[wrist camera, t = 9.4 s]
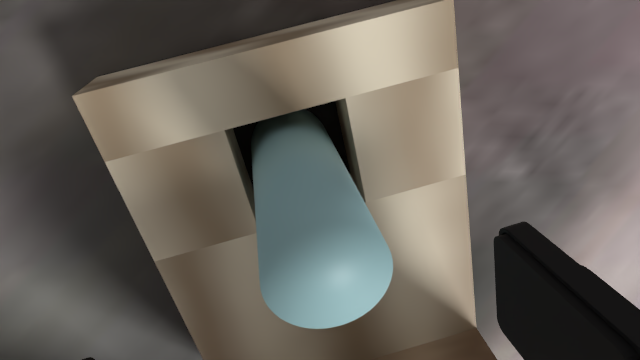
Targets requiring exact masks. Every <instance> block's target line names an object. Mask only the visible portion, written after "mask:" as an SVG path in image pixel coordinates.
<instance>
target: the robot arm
mask: <svg viewBox="0 0 640 360" xmlns="http://www.w3.org/2000/svg"><path fill="white" fill-rule="evenodd" d="M494 259H495V282H496V304H497V320H498V323H499V326H500V328H501V330H502V332H503V333H504V334H505V336H506V337H507V338H508V340H509V341H510V342H511V343H512V345H513V346H514V347H515V348H516V350H517V351H518V352H519V354H520V355H521V356H522V357H523V359H524V360H640V310H639V309H638V308H637V307H636V306H634V305H633V304H632V303H631V302H629V301H628V300H627V299H626V298H624V297H623V296H622V295H621V294H619V293H618V292H617V291H616V290H614V289H613V288H612V287H611V286H609V285H608V284H607V283H606V282H604V281H603V280H602V279H601V278H599V277H598V276H597V275H596V274H594V273H593V272H592V271H591V270H589V269H587V268H586V267H584V266H582V265H579V264H578V263H577V262H576V261H574V260H573V259H572V258H571V257H569V256H568V255H567V254H566V253H565V252H563V251H562V250H561V249H560V248H558V247H557V246H556V245H555V244H553V243H552V242H551V241H550V240H548V239H547V238H546V237H545V236H543V235H542V234H541V233H540V232H538V231H537V230H536V229H535V228H534V227H532V226H531V225H530V224H528V223H527V222H520V223H517V224H514V225H511V226H508V227H504V228H502V229H500V231H499V236H496V237H495V238H494ZM82 360H95V359H93V358H91V357H90V358H86V359H82Z"/></svg>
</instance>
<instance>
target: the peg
mask: <svg viewBox="0 0 640 360" xmlns="http://www.w3.org/2000/svg"><path fill="white" fill-rule="evenodd" d="M251 154H252V170H253V186H254V201H255V217H256V233H257V248H258V264H259V280H260V290H261V293H262V297H263V299H264V301H265V303H266V304H267V306H268V307H269V309H270V310H271V311H272V312H273V313H274V314H275V315H277V316H278V317H279V318H281V319H282V320H284V321H286V322H288V323H290V324H293V325H296V326H299V327H304V328H311V329H325V328H332V327H336V326H341V325H344V324H346V323H349V322H351V321H354V320H356V319H358V318H359V317H361V316H363V315H364V314H366V313H367V312H368V311H370V310H371V309H372V308H373V307H374V306H375V305H376V304H377V303H378V302H379V301H380V300H381V298H382V297H383V295H384V294H385V292H386V291H387V289H388V287H389V284H390V281H391V278H392V273H393V259H392V255H391V252H390V249H389V247H388V245H387V243H386V241H385V239H384V238H383V236H382V234H381V232H380V230H379V228H378V226H377V225H376V223H375V221H374V219H373V217H372V215H371V213H370V212H369V210H368V208H367V206H366V204H365V202H364V200H363V198H362V197H361V195H360V193H359V191H358V189H357V187H356V185H355V184H354V182H353V180H352V178H351V176H350V174H349V172H348V171H347V169H346V167H345V165H344V163H343V161H342V159H341V157H340V156H339V154H338V152H337V150H336V148H335V146H334V144H333V143H332V141H331V139H330V137H329V135H328V133H327V131H326V130H325V128H324V126H323V124H322V123H321V121H320V120H319V119H318V118H317V117H316V116H315V115H314V114H313V113H311V112H309V111H307V110H305V109H302V110H299V111H295V112H291V113H287V114H284V115H280V116H276V117H272V118H269V119H265V120H261V121H259V122H258V123H257V125H256V126H255V128H254V131H253V134H252V138H251Z"/></svg>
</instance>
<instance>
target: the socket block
mask: <svg viewBox="0 0 640 360" xmlns="http://www.w3.org/2000/svg"><path fill="white" fill-rule="evenodd" d="M72 97H73V99H74V101H75V103H76V105H77V107H78V109H79V111H80V113H81V115H82V117H83V119H84V121H85V123H86V125H87V127H88V129H89V131H90V133H91V135H92V137H93V139H94V141H95V144H96V146H97V148H98V150H99V152H100V154H101V156H102V158H103V160H104V162H105V164H106V166H107V168H108V170H109V172H110V174H111V176H112V178H113V180H114V182H115V184H116V186H117V188H118V190H119V192H120V194H121V196H122V198H123V200H124V202H125V204H126V206H127V208H128V210H129V212H130V214H131V216H132V218H133V220H134V222H135V224H136V226H137V228H138V230H139V232H140V234H141V236H142V238H143V240H144V242H145V244H146V246H147V248H148V250H149V252H150V254H151V256H152V258H153V260H154V262H155V264H156V266H157V268H158V270H159V272H160V274H161V276H162V278H163V280H164V282H165V284H166V286H167V288H168V290H169V292H170V294H171V296H172V298H173V300H174V302H175V304H176V306H177V308H178V310H179V312H180V314H181V316H182V318H183V320H184V322H185V324H186V326H187V328H188V330H189V332H190V334H191V336H192V338H193V340H194V342H195V344H196V346H197V348H198V350H199V352H200V354H201V356H202V358H203V360H497V359H496V357H495V356H494V354H493V353H492V351H491V350H490V348H489V347H488V345H487V344H486V342H485V341H484V339H483V337H482V336H481V334H480V333H479V331H478V330H477V328H476V316H475V302H474V287H473V273H472V258H471V244H470V230H469V215H468V201H467V186H466V172H465V157H464V143H463V129H462V114H461V100H460V85H459V71H458V56H457V42H456V28H455V13H454V0H396V1H392V2H388V3H384V4H380V5H376V6H372V7H369V8H365V9H361V10H357V11H353V12H349V13H345V14H341V15H337V16H333V17H330V18H326V19H322V20H318V21H314V22H310V23H306V24H302V25H298V26H294V27H290V28H287V29H283V30H279V31H275V32H271V33H267V34H263V35H259V36H255V37H251V38H247V39H244V40H240V41H236V42H232V43H228V44H224V45H220V46H216V47H212V48H208V49H204V50H201V51H197V52H193V53H189V54H185V55H181V56H177V57H173V58H169V59H165V60H162V61H158V62H154V63H150V64H146V65H142V66H138V67H134V68H130V69H126V70H122V71H119V72H115V73H111V74H107V75H103V76H99V77H96V78H95V79H94V80H92V81H91V82H90V83H88V84H87V85H86V86H85V87H83V88H82V89H81V90H79V91H78V92H77V93H75V94H74V95H73V96H72ZM332 101H335V103H336V107H337V112H338V117H339V122H340V127H341V131H342V136H343V141H344V146H345V150H346V155H347V160H348V165H349V170H350V176H351V178H352V180H353V182H354V184H355V185H356V187H357V189H358V191H359V193H360V195H361V197H362V198H363V200H364V202H365V204H366V206H367V208H368V210H369V212H370V213H371V215H372V217H373V219H374V221H375V223H376V225H377V226H378V228H379V230H380V232H381V234H382V236H383V238H384V239H385V241H386V243H387V245H388V247H389V249H390V252H391V255H392V259H393V273H392V278H391V281H390V284H389V287H388V289H387V291H386V292H385V294H384V295H383V297H382V298H381V300H380V301H379V302H378V303H377V304H376V305H375V306H374V307H373V308H372V309H371V310H370V311H368V312H367V313H366V314H364V315H363V316H361V317H359V318H358V319H356V320H354V321H351V322H349V323H346V324H344V325H341V326H336V327H332V328H325V329H311V328H304V327H299V326H296V325H293V324H290V323H288V322H286V321H284V320H282V319H281V318H279V317H278V316H277V315H275V314H274V313H273V312H272V311H271V310H270V309H269V307H268V306H267V304H266V303H265V301H264V299H263V297H262V293H261V290H260V280H259V264H258V248H257V233H256V217H255V201H254V190H253V187H252V184H251V181H250V178H249V175H248V172H247V169H246V166H245V163H244V160H243V157H242V154H241V151H240V148H239V145H238V142H237V139H236V136H235V133H234V130H233V128H235V127H239V126H242V125H246V124H250V123H254V122H257V121H261V120H265V119H269V118H272V117H276V116H280V115H284V114H287V113H291V112H295V111H299V110H302V109H306V108H310V107H314V106H317V105H321V104H325V103H329V102H332Z"/></svg>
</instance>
